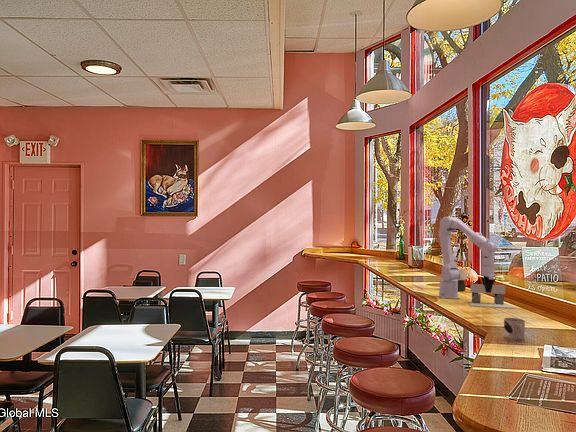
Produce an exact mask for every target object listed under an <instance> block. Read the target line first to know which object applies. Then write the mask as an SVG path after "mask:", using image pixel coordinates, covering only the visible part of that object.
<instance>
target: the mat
mask: <svg viewBox="0 0 576 432" xmlns="http://www.w3.org/2000/svg"><path fill="white" fill-rule="evenodd" d="M468 305H469V307H471V308H472V307H473V308H475V307H476V308H492V309H493V308H495V309H509V310H516V307H515V306H514V305H511V304H504V305H500V304H495V303H481V302H480V303H473V302H468Z"/></svg>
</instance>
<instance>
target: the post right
mask: <svg viewBox="0 0 576 432" xmlns="http://www.w3.org/2000/svg"><path fill="white" fill-rule="evenodd" d="M493 296H494V297H493V300H494V301H493V302H494V303H493V304H500V305H505V304H504V302H505V300H504V299H505V297H504V296H505V294H494V295H493Z"/></svg>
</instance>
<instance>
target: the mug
mask: <svg viewBox="0 0 576 432" xmlns="http://www.w3.org/2000/svg"><path fill="white" fill-rule="evenodd" d="M503 322H504V323H503V338H504V339H506V340H510V341H518V342H519V341H520V342H522V341H525V331H526V329H525V327H526V326H525V325H526V321H525V320H524V319H522V318H517V317H505V318H504V319H503Z"/></svg>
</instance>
